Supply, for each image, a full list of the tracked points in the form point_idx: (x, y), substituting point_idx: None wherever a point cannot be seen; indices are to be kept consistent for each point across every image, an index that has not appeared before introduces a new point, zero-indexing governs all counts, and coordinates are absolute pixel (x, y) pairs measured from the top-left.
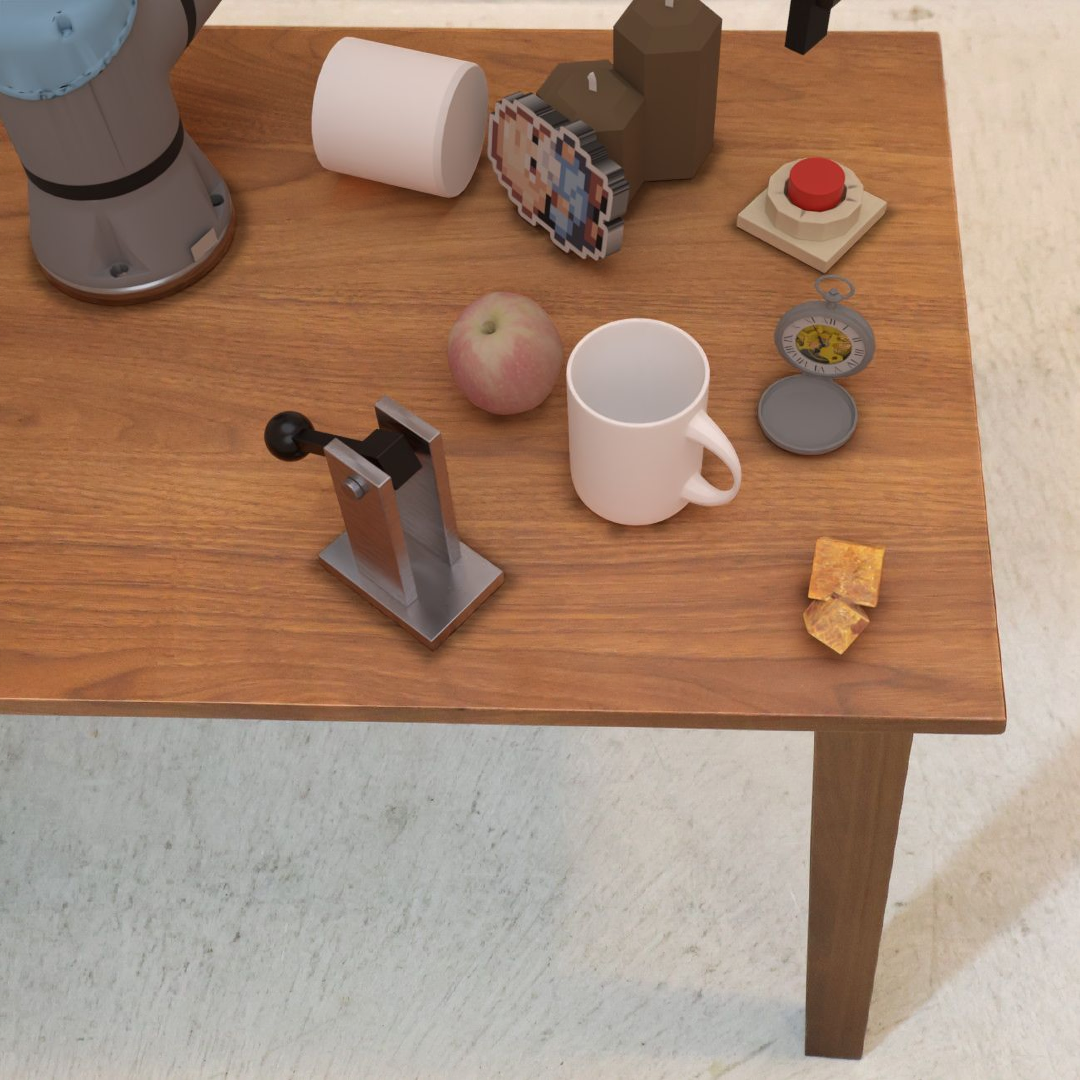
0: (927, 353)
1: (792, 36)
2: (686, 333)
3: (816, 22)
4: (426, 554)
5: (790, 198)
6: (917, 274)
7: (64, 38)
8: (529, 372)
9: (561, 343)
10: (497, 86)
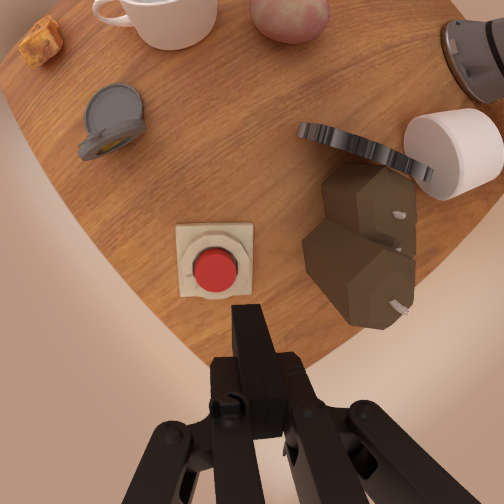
0: (91, 209)
1: (253, 314)
2: (151, 4)
3: (234, 343)
4: None
5: (225, 251)
6: (133, 261)
7: None
8: None
9: (262, 21)
10: (427, 234)
